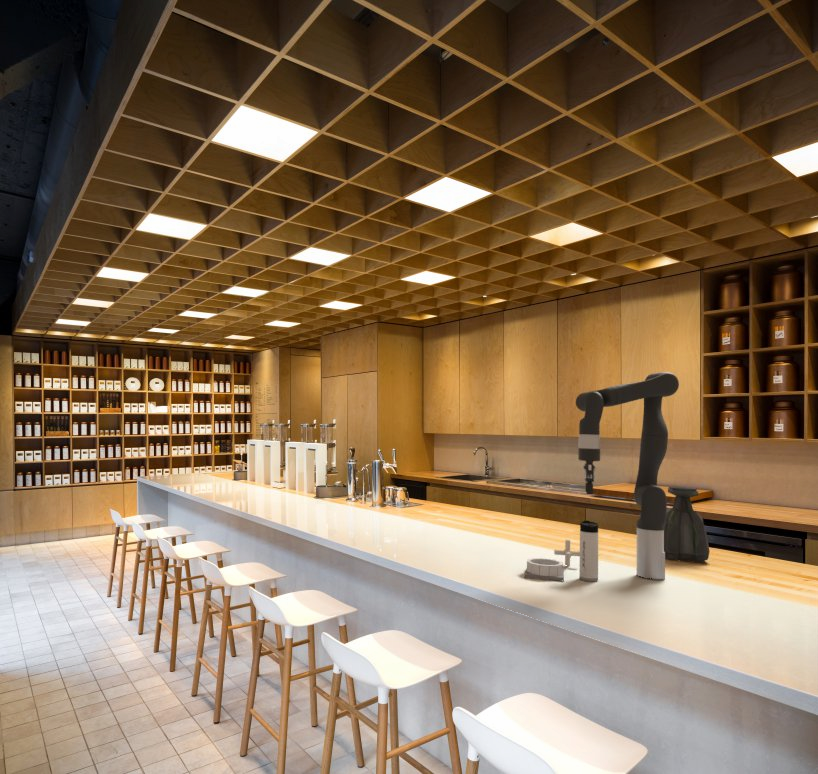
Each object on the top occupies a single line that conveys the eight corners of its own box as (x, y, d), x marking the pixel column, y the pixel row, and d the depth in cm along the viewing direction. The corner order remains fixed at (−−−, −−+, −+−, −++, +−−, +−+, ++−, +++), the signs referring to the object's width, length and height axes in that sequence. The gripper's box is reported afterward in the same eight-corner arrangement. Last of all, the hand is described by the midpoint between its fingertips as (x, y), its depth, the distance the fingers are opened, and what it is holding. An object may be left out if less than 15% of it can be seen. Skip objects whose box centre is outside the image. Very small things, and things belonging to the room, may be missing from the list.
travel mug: (594, 577, 206) (594, 520, 208) (600, 582, 199) (601, 523, 201) (576, 577, 206) (577, 520, 207) (582, 581, 199) (583, 522, 201)
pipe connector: (582, 570, 217) (582, 543, 218) (554, 568, 219) (555, 541, 220) (579, 564, 227) (580, 538, 227) (553, 562, 229) (554, 537, 229)
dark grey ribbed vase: (664, 560, 242) (663, 488, 244) (656, 553, 258) (657, 485, 260) (710, 564, 238) (710, 490, 240) (700, 556, 254) (700, 487, 256)
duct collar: (563, 573, 211) (563, 560, 212) (563, 581, 198) (563, 567, 199) (527, 569, 215) (527, 556, 215) (524, 577, 202) (524, 563, 202)
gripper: (601, 448, 199) (601, 495, 197) (599, 447, 213) (599, 492, 211) (578, 447, 201) (578, 494, 199) (578, 446, 215) (577, 491, 213)
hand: (589, 493), depth 205 cm, fingers open, 8 cm apart
